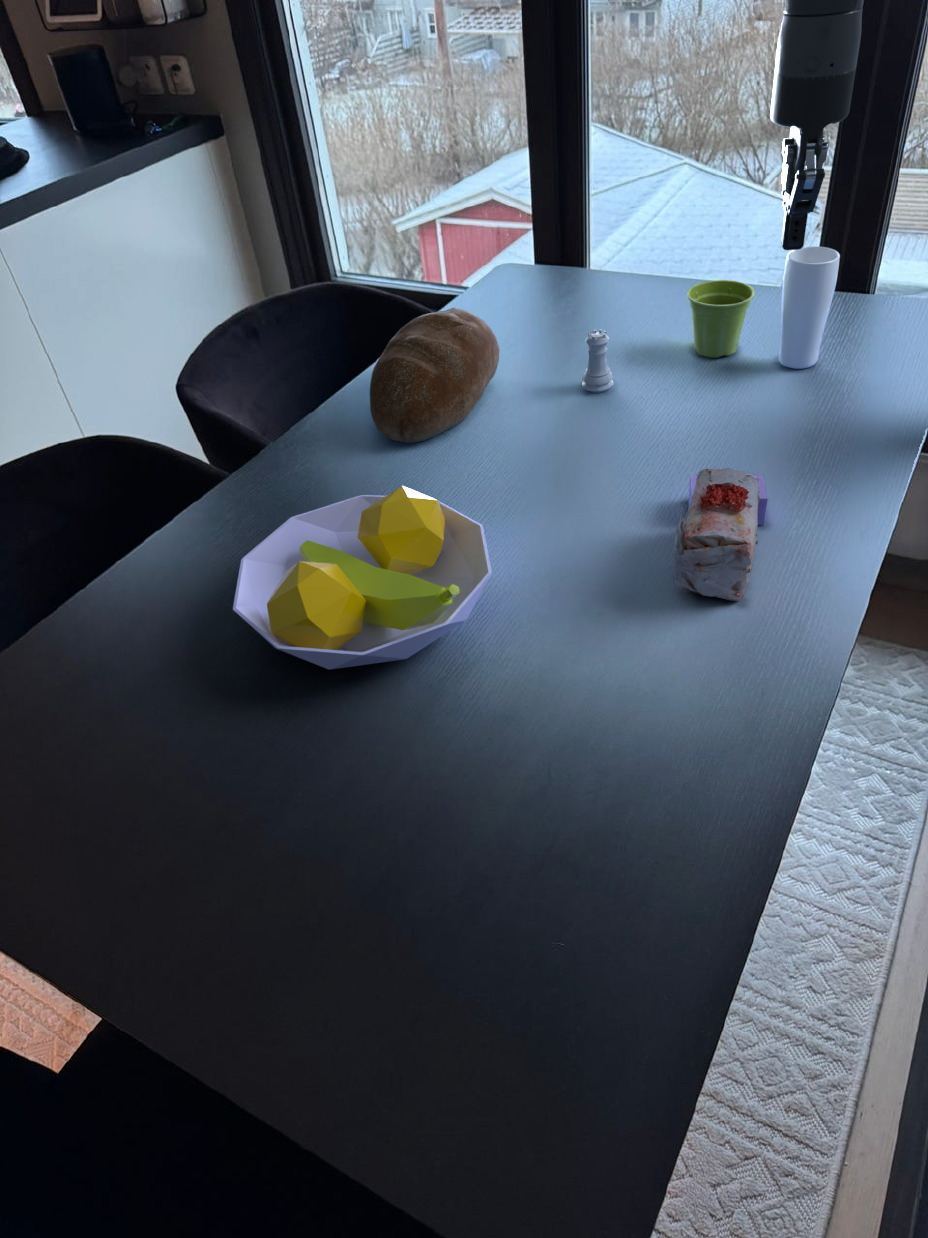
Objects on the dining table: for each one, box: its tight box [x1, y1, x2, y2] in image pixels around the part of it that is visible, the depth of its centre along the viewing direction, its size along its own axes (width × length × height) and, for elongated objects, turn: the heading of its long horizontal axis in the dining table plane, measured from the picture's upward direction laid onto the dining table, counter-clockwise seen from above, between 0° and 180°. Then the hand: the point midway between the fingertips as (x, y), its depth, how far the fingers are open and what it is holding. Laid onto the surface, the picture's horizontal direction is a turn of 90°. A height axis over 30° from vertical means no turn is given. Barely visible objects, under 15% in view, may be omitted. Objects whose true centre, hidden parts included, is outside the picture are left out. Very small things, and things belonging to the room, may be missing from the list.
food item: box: [673, 467, 760, 602], centre depth 90 cm, size 14×8×10 cm, turn 164°
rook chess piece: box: [581, 328, 614, 394], centre depth 124 cm, size 4×4×8 cm
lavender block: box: [688, 473, 769, 526], centre depth 99 cm, size 8×5×4 cm, turn 81°
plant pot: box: [686, 279, 756, 359], centre depth 129 cm, size 9×9×9 cm
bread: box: [369, 307, 500, 443], centre depth 126 cm, size 16×29×11 cm, turn 162°
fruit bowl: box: [232, 485, 493, 671], centre depth 89 cm, size 28×27×11 cm
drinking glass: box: [778, 245, 841, 370], centre depth 121 cm, size 7×7×15 cm
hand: (791, 247), depth 97 cm, fingers closed
